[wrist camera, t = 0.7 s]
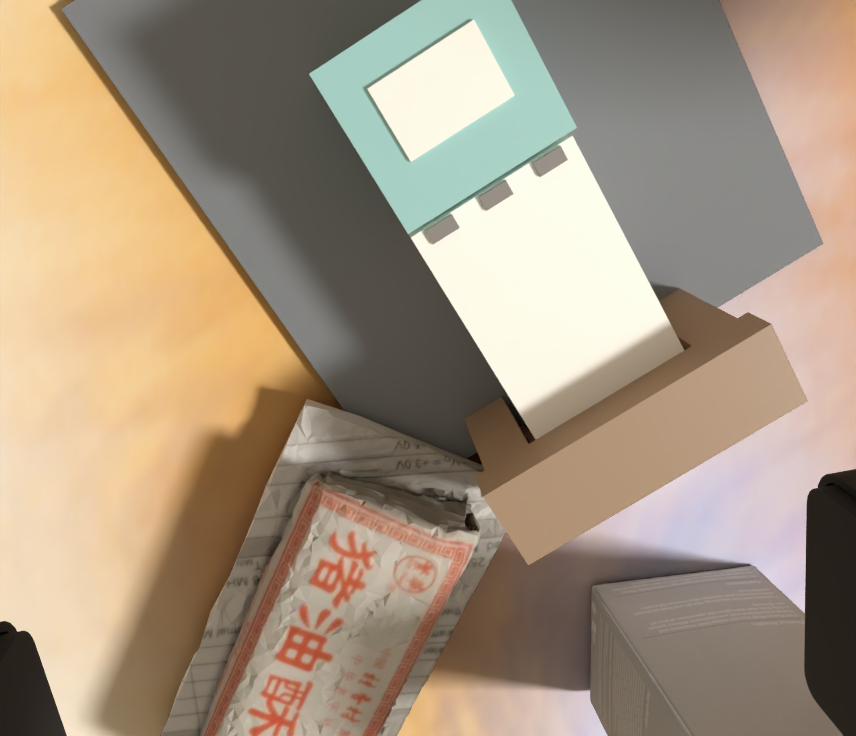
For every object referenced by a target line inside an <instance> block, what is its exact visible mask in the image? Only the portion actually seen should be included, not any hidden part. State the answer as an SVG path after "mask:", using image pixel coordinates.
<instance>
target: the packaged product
mask: <svg viewBox="0 0 856 736" xmlns="http://www.w3.org/2000/svg"><path fill="white" fill-rule="evenodd" d="M483 471H485V470H484V467H483V465H481V464H479V463H476V462H473V461H471V460H468V459H466V458H463V457H461V456H458V455H455V454H453V453H450V452H448V451H445V450H443V449H440V448H438V447H435V446H433V445H430V444H428V443H425V442H423V441H420V440H418V439H415V438H413V437H410V436H408V435H405V434H403V433H400V432H398V431H395V430H393V429H390V428H388V427H386V426H383V425H381V424H378V423H376V422H373V421H371V420H368V419H366V418H363V417H361V416H358V415H355V414H352V413H349V412H346V411H343V410H340V409H337V408H334V407H331V406H328V405H324V404H321V403H318V402H315V401H312V400H309V399H307V400H306V402H305V404H304V406H303V408H302V410H301V412H300V415H299V417H298V419H297V421H296V423H295V425H294V427H293V429H292V431H291V434H290V436H289V438H288V440H287V442H286V444H285V446H284V448H283V450H282V453H281V455H280V457H279V459H278V461H277V463H276V465H275V467H274V469H273V471H272V474H271V476H270V478H269V480H268V482H267V484H266V487H265V489H264V492H263V495H262V497H261V500H260V503H259V505H258V508H257V511H256V513H255V516H254V518H253V521H252V523H251V525H250V528H249V530H248V533H247V535H246V537H245V540H244V542H243V545H242V547H241V549H240V552H239V554H238V557H237V559H236V561H235V564H234V566H233V569H232V571H231V573H230V576H229V578H228V579H227V581H226V583H225V585H224V587H223V589H222V591H221V592H220V594H219V596H218V598H217V600H216V602H215V604H214V605H213V607H212V609H211V611H210V614H209V618H208V621H207V624H206V628H205V631H204V634H203V638H202V641H201V644H200V647H199V649H198V651H197V652H196V653H195V654H194V656H193V658H192V660H191V662H190V665H189V667H188V669H187V671H186V673H185V675H184V677H183V680H182V682H181V684H180V686H179V689H178V692H177V695H176V698H175V700H174V703H173V706H172V709H171V712H170V715H169V718H168V720H167V723H166V725H165V727H164V729H163V731H162V733H161V735H160V736H397V734H398V733H399V731H400V729H401V727H402V725H403V723H404V720H405V718H406V717H407V716H408V714H409V713H410V710H411V708H412V706H413V704H414V702H415V701H416V699H417V697H418V695H419V693H420V691H421V689H422V687H423V686H424V684H425V683H426V681H427V680H428V678H429V676H430V674H431V672H432V670H433V667H434V665H435V663H436V660H437V659H438V657H439V656H440V654H441V653H442V651H443V649H444V647H445V645H446V643H447V641H448V639H449V637H450V635H451V633H452V631H453V629H454V627H455V625H456V624H457V622H458V620H459V619H460V617H461V615H462V613H463V611H464V608H465V606H466V604H467V602H468V600H469V598H470V597H471V595H472V594H473V592H474V590H475V589H476V587H477V585H478V584H479V582H480V580H481V578H482V576H483V574H484V572H485V571H486V569H487V567H488V565H489V563H490V561H491V559H492V557H493V555H494V554H495V552H496V550H497V548H498V546H499V544H500V542H501V540H502V538H503V536H504V535H505V533H506V531H505V529H504V528H503V526H502V525H501V523H500V522H499V520H498V519H497V517H496V516H495V514H494V513H493V511H492V510H491V508H490V507H489V505H488V504H487V502H486V501H485V499H484V498H483V496H482V493H481V491H480V488H479V485H478V483H477V480H476V477H475V476H476V475H478V474H480V473H481V472H483Z"/></svg>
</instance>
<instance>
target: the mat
mask: <svg viewBox="0 0 856 736" xmlns="http://www.w3.org/2000/svg"><path fill="white" fill-rule="evenodd" d="M419 1H421V0H74V1H73V2H71V3H70V4H68V5H67V6H65V7H64V8H62V9H61V10H62V11H63V13H64V14H65V16H66V17H67V18H68V20H69V21H70V23H71V24H72V26H73V27H74V28H75V30H76V31H77V33H78V34H79V36H80V37H81V38H82V40H83V41H84V43H85V44H86V45H87V47H88V48H89V50H90V51H91V53H92V54H93V55H94V57H95V58H96V60H97V61H98V62H99V64H100V65H101V67H102V68H103V70H104V71H105V72H106V74H107V75H108V77H109V78H110V79H111V81H112V82H113V84H114V85H115V87H116V88H117V89H118V91H119V92H120V94H121V95H122V96H123V98H124V99H125V101H126V102H127V104H128V105H129V106H130V108H131V109H132V111H133V112H134V113H135V115H136V116H137V118H138V119H139V121H140V122H141V123H142V125H143V126H144V128H145V129H146V130H147V132H148V133H149V135H150V136H151V138H152V139H153V140H154V142H155V143H156V145H157V146H158V148H159V149H160V150H161V152H162V153H163V155H164V156H165V157H166V159H167V160H168V162H169V163H170V165H171V166H172V167H173V169H174V170H175V172H176V173H177V174H178V176H179V177H180V179H181V180H182V182H183V183H184V184H185V186H186V187H187V189H188V190H189V191H190V193H191V194H192V196H193V197H194V199H195V200H196V201H197V203H198V204H199V206H200V207H201V208H202V210H203V211H204V213H205V214H206V216H207V217H208V218H209V220H210V221H211V223H212V224H213V225H214V227H215V228H216V230H217V231H218V233H219V234H220V235H221V237H222V238H223V240H224V241H225V242H226V244H227V245H228V247H229V248H230V250H231V251H232V252H233V254H234V255H235V257H236V258H237V260H238V261H239V262H240V264H241V265H242V267H243V268H244V269H245V271H246V272H247V274H248V275H249V277H250V278H251V279H252V281H253V282H254V284H255V285H256V286H257V288H258V289H259V291H260V292H261V294H262V295H263V296H264V298H265V299H266V301H267V302H268V303H269V305H270V306H271V308H272V309H273V311H274V312H275V313H276V315H277V316H278V318H279V319H280V320H281V322H282V323H283V325H284V326H285V328H286V329H287V330H288V332H289V333H290V335H291V336H292V337H293V339H294V340H295V342H296V343H297V345H298V346H299V347H300V349H301V350H302V352H303V353H304V354H305V356H306V357H307V359H308V360H309V362H310V363H311V364H312V366H313V367H314V369H315V370H316V372H317V373H318V374H319V376H320V377H321V379H322V380H323V381H324V383H325V384H326V386H327V387H328V389H329V390H330V391H331V393H332V394H333V396H334V397H335V398H336V400H337V401H338V403H339V404H340V406H341V407H342V408H343V410H344V411H346V412H349V413H352V414H355V415H358V416H361V417H363V418H366V419H368V420H371V421H373V422H376V423H378V424H381V425H383V426H386V427H388V428H390V429H393V430H395V431H398V432H400V433H403V434H405V435H408V436H410V437H413V438H415V439H418V440H420V441H423V442H425V443H428V444H430V445H433V446H435V447H438V448H440V449H443V450H445V451H448V452H450V453H453V454H455V455H458V456H461V457H463V458H466V459H467V458H469V457H470V456H472V455H474V454H475V453H477V450H476V447H475V445H474V442H473V440H472V438H471V435H470V433H469V430H468V428H467V425H466V423H465V420H464V419H465V418H467V417H468V416H470V415H472V414H473V413H475V412H477V411H478V410H480V409H482V408H483V407H485V406H486V405H488V404H490V403H491V402H493V401H495V400H496V399H498V398H500V397H502V398H503V400H504V401H505V403H506V405H507V406H508V408H509V409H510V411H511V413H512V414H513V416H514V418H515V419H516V421H517V422H518V424H519V426H522V425H524V424H525V422H524V420H523V418H522V417H521V415H520V414H519V412H518V410H517V409H516V407H515V406H514V404H513V402H512V401H511V399H510V397H509V396H508V394H507V393H506V391H505V389H504V388H503V386H502V385H501V383H500V381H499V380H498V378H497V376H496V375H495V373H494V372H493V370H492V368H491V367H490V365H489V364H488V362H487V360H486V359H485V357H484V355H483V354H482V352H481V351H480V349H479V347H478V346H477V344H476V343H475V341H474V339H473V338H472V336H471V334H470V333H469V331H468V330H467V328H466V326H465V325H464V323H463V322H462V320H461V318H460V317H459V315H458V313H457V312H456V310H455V309H454V307H453V305H452V304H451V302H450V301H449V299H448V297H447V296H446V294H445V292H444V291H443V289H442V288H441V286H440V284H439V283H438V281H437V280H436V278H435V276H434V275H433V273H432V271H431V270H430V268H429V267H428V265H427V263H426V262H425V260H424V259H423V257H422V255H421V254H420V252H419V250H418V249H417V247H416V246H415V244H414V242H413V241H412V239H411V237H410V236H409V234H408V233H407V232H406V230H405V228H404V227H403V225H402V223H401V222H400V220H399V219H398V217H397V215H396V214H395V212H394V211H393V209H392V207H391V206H390V204H389V202H388V201H387V199H386V198H385V196H384V194H383V193H382V191H381V190H380V188H379V186H378V185H377V183H376V181H375V180H374V178H373V177H372V175H371V173H370V172H369V170H368V169H367V167H366V165H365V164H364V162H363V160H362V159H361V157H360V156H359V154H358V152H357V151H356V149H355V148H354V146H353V144H352V143H351V141H350V139H349V138H348V136H347V135H346V133H345V131H344V130H343V128H342V127H341V125H340V123H339V122H338V120H337V118H336V117H335V115H334V114H333V112H332V110H331V109H330V107H329V106H328V104H327V102H326V101H325V99H324V97H323V96H322V94H321V93H320V91H319V89H318V88H317V86H316V85H315V83H314V81H313V80H312V78H311V76H310V75H309V74H310V73H311V72H313V71H314V70H316V69H317V68H319V67H320V66H322V65H323V64H325V63H326V62H328V61H329V60H331V59H332V58H334V57H336V56H337V55H339V54H340V53H342V52H343V51H345V50H346V49H348V48H349V47H351V46H352V45H354V44H355V43H357V42H358V41H360V40H361V39H363V38H364V37H366V36H368V35H369V34H371V33H372V32H374V31H375V30H377V29H378V28H380V27H381V26H383V25H384V24H386V23H387V22H389V21H390V20H392V19H393V18H395V17H396V16H398V15H400V14H401V13H403V12H404V11H406V10H407V9H409V8H410V7H412V6H413V5H415V4H416V3H418V2H419ZM511 1H512V3H513V5H514V7H515V8H516V10H517V12H518V14H519V16H520V18H521V20H522V22H523V24H524V26H525V28H526V30H527V32H528V34H529V36H530V37H531V39H532V41H533V43H534V45H535V47H536V49H537V51H538V53H539V55H540V57H541V59H542V61H543V63H544V65H545V67H546V68H547V70H548V72H549V74H550V76H551V78H552V80H553V82H554V84H555V86H556V88H557V90H558V92H559V94H560V96H561V97H562V99H563V101H564V103H565V105H566V107H567V109H568V111H569V113H570V115H571V117H572V119H573V121H574V123H575V125H576V127H577V128H576V129H574V130H573V131H571V132H570V133H568V134H566V135H572V136H573V137H574V139H575V141H576V143H577V145H578V147H579V149H580V151H581V153H582V155H583V157H584V158H585V160H586V162H587V164H588V166H589V168H590V170H591V172H592V174H593V176H594V178H595V180H596V182H597V183H598V185H599V187H600V189H601V191H602V193H603V195H604V197H605V199H606V201H607V203H608V205H609V206H610V208H611V210H612V212H613V214H614V216H615V218H616V220H617V222H618V224H619V226H620V228H621V230H622V231H623V233H624V235H625V237H626V239H627V241H628V243H629V245H630V247H631V249H632V251H633V253H634V255H635V256H636V258H637V260H638V262H639V264H640V266H641V268H642V270H643V272H644V274H645V276H646V278H647V280H648V281H649V283H650V285H651V287H652V289H653V291H654V293H655V295H656V297H657V299H658V301H659V300H661V299H663V298H664V297H666V296H667V295H669V294H671V293H672V292H674V291H676V290H677V289H679V288H680V289H682V290H684V291H686V292H688V293H690V294H692V295H694V296H695V297H697V298H699V299H701V300H703V301H705V302H707V303H709V304H711V305H713V306H715V307H716V308H717V307H719V306H721V305H722V304H724V303H726V302H727V301H729V300H731V299H732V298H734V297H736V296H737V295H739V294H741V293H742V292H744V291H746V290H747V289H749V288H751V287H752V286H754V285H756V284H757V283H759V282H761V281H762V280H764V279H766V278H767V277H769V276H771V275H772V274H774V273H775V272H777V271H779V270H780V269H782V268H784V267H785V266H787V265H789V264H790V263H792V262H794V261H795V260H797V259H799V258H800V257H802V256H804V255H805V254H807V253H809V252H810V251H812V250H814V249H815V248H817V247H819V246H820V245H822V244H823V241H822V239H821V237H820V234H819V232H818V230H817V228H816V225H815V223H814V221H813V218H812V216H811V214H810V211H809V209H808V207H807V204H806V202H805V200H804V197H803V195H802V193H801V190H800V188H799V186H798V183H797V181H796V179H795V176H794V174H793V172H792V170H791V167H790V165H789V163H788V160H787V158H786V156H785V153H784V151H783V149H782V146H781V144H780V142H779V139H778V137H777V135H776V132H775V130H774V128H773V125H772V123H771V121H770V118H769V116H768V114H767V112H766V109H765V107H764V105H763V102H762V100H761V98H760V95H759V93H758V91H757V88H756V86H755V84H754V81H753V79H752V77H751V74H750V72H749V70H748V67H747V65H746V63H745V60H744V58H743V56H742V54H741V51H740V49H739V47H738V44H737V42H736V40H735V37H734V35H733V33H732V30H731V28H730V26H729V23H728V21H727V19H726V16H725V14H724V12H723V9H722V7H721V5H720V2H719V0H511Z"/></svg>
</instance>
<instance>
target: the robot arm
mask: <svg viewBox="0 0 856 736" xmlns="http://www.w3.org/2000/svg"><path fill="white" fill-rule="evenodd" d="M804 672H805V678H806V682H807V685H808V688H809V691H810V693H811V695H812V697H813V698H814V700H815V701H816V703H817V704H818V705H819V706H820V708H821V709H822V710H823V711H824V713H825V714H826V715H827V716H828V717H829V719H830V720H831V721H832V722H833V724H834V725H835V726H836V727H837V728H838V730H839V731H840V732H841V733H842V735H843V736H856V469H854V470H849V471H843V472H837V473H832V474H826V475H825V476H823V477H822V478H821V480H820V482H819V484H818V488H816V489H813V490H811V491H810V492H809V495H808V498H807V527H806V587H805V648H804ZM0 736H67V735H66V733H65V730H64V727H63V724H62V721H61V718H60V715H59V712H58V709H57V706H56V703H55V701H54V698H53V695H52V692H51V689H50V686H49V683H48V680H47V677H46V674H45V672H44V669H43V666H42V663H41V660H40V657H39V654H38V651H37V648H36V645H35V643H34V640H33V638H32V636H31V635H30V634H29V633H28V632H26V631H20V632H17V631H16V628H15V627H14V626H13V625H12V624H11V623H9V622H6V621H3V622H0Z"/></svg>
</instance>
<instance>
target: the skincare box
mask: <svg viewBox="0 0 856 736" xmlns="http://www.w3.org/2000/svg"><path fill="white" fill-rule="evenodd" d="M804 648H805V613H803V612H802V611H801V610H800V609H799V608H798V607H797V606H796V605H795V604H794V603H793V602H792V601H791V600H790V599H789V598H788V597H787V596H785V595H784V594H783V593H782V592H781V591H780V590H779V589H778V588H777V587H776V586H775V585H773V584H772V583H771V582H770V581H769V580H768V579H767V578H766V577H765V576H764V575H763V574H762V573H761V572H760V571H759V570H758V569H757V568H756V567H755V566H746V567H738V568H730V569H723V570H715V571H706V572H698V573H690V574H681V575H674V576H665V577H657V578H648V579H640V580H632V581H623V582H615V583H607V584H600V585H594V586H592V591H591V678H590V700H591V703H592V705H593V707H594V709H595V711H596V713H597V715H598V717H599V719H600V721H601V723H602V725H603V727H604V729H605V731H606V733H607V735H608V736H843V735H842V733H841V732H840V731H839V730H838V728H837V727H836V726H835V725H834V724H833V722H832V721H831V720H830V719H829V717H828V716H827V715H826V714H825V713H824V711H823V710H822V709H821V708H820V706H819V705H818V704H817V703H816V701H815V700H814V698H813V697H812V695H811V693H810V691H809V688H808V685H807V682H806V678H805V672H804Z"/></svg>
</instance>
